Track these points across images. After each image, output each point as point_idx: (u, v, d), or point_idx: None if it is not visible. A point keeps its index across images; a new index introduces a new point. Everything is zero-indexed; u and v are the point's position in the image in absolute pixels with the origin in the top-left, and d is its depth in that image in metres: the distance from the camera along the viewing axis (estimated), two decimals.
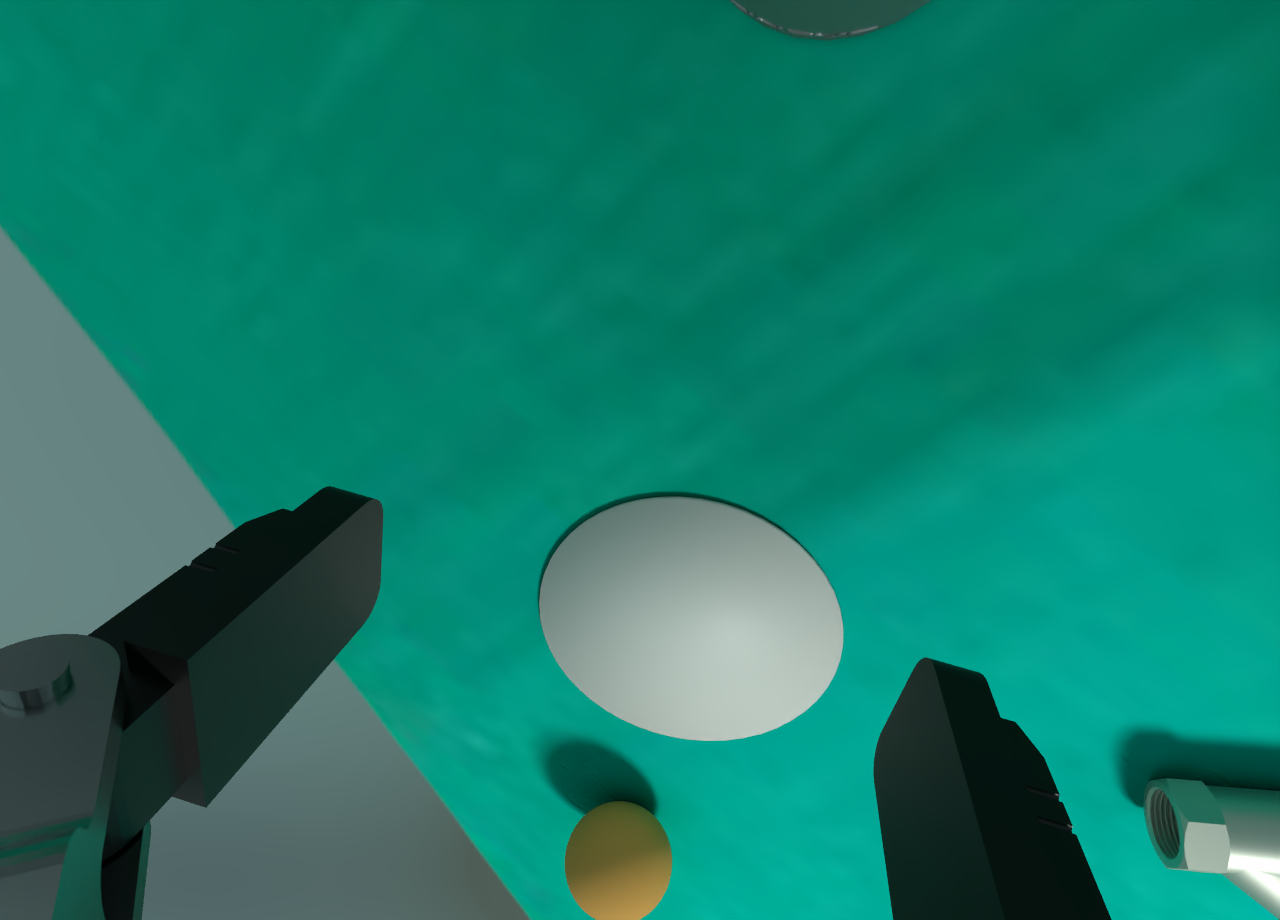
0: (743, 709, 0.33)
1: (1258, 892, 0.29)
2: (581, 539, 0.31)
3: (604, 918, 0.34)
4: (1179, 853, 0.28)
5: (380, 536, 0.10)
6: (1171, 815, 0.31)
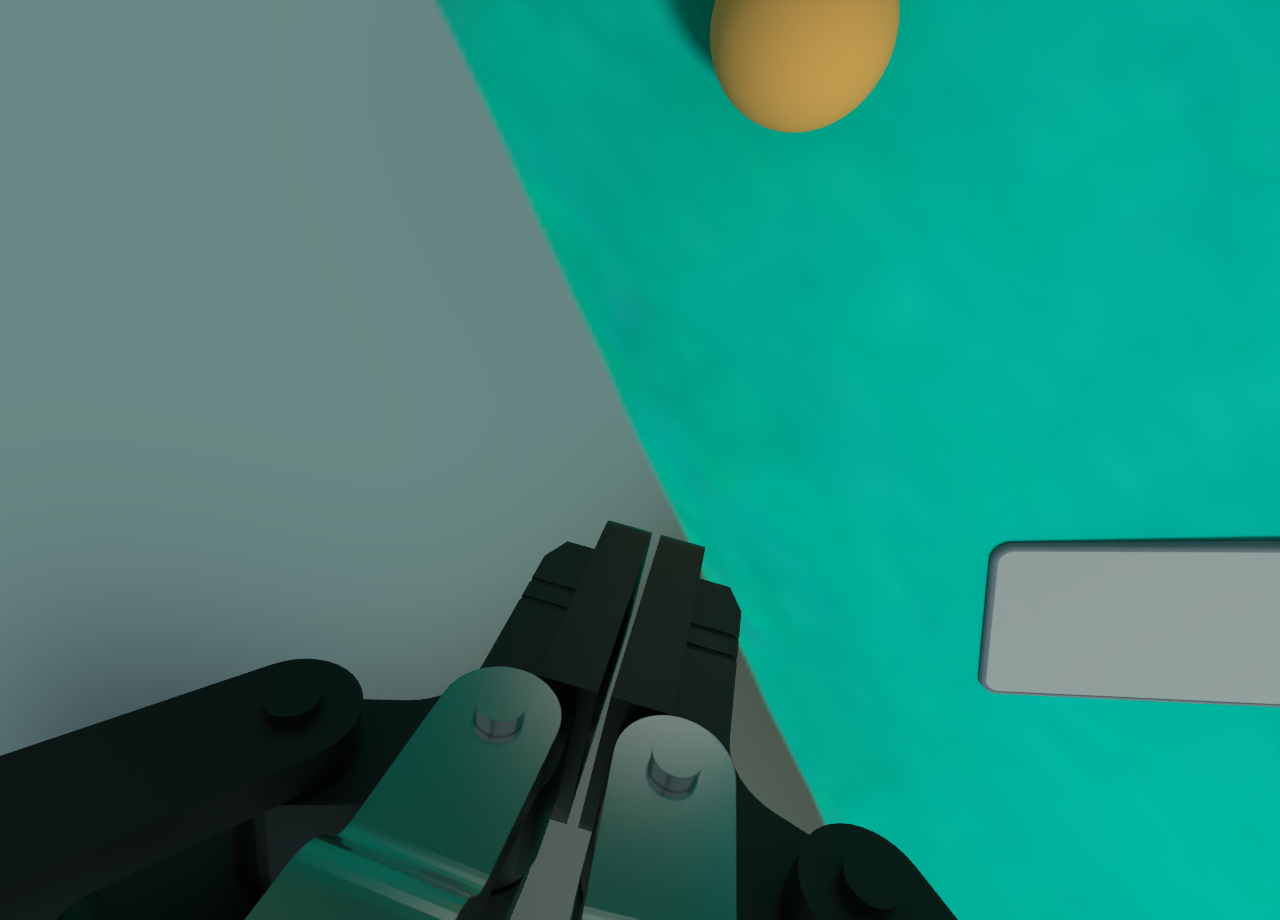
0: None
1: None
2: None
3: (799, 34, 0.19)
4: None
5: None
6: None
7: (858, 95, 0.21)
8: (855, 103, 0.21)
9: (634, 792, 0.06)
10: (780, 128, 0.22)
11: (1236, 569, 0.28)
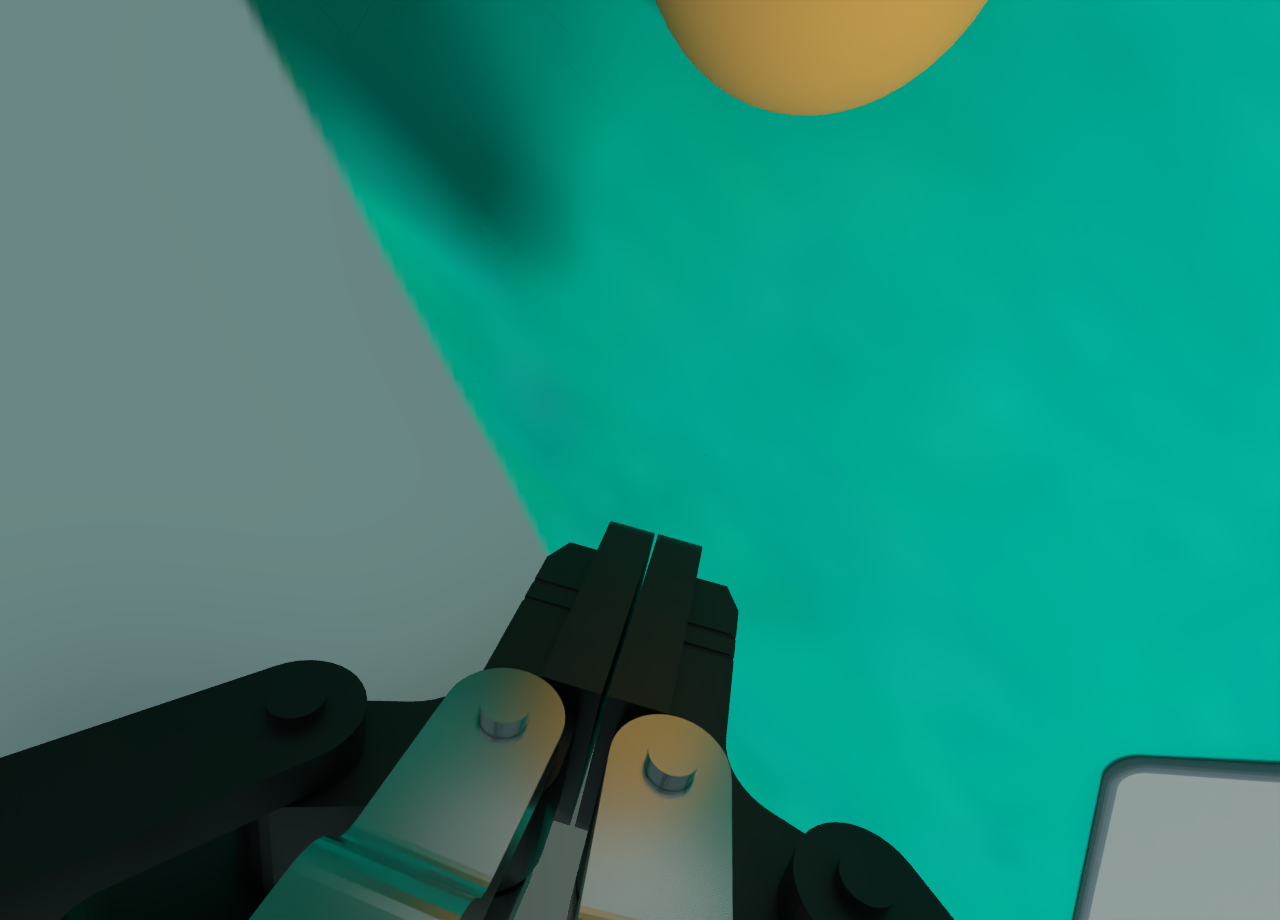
0: None
1: None
2: None
3: None
4: None
5: (646, 566, 0.11)
6: None
7: (944, 36, 0.10)
8: (935, 54, 0.10)
9: (630, 792, 0.06)
10: (781, 107, 0.11)
11: None
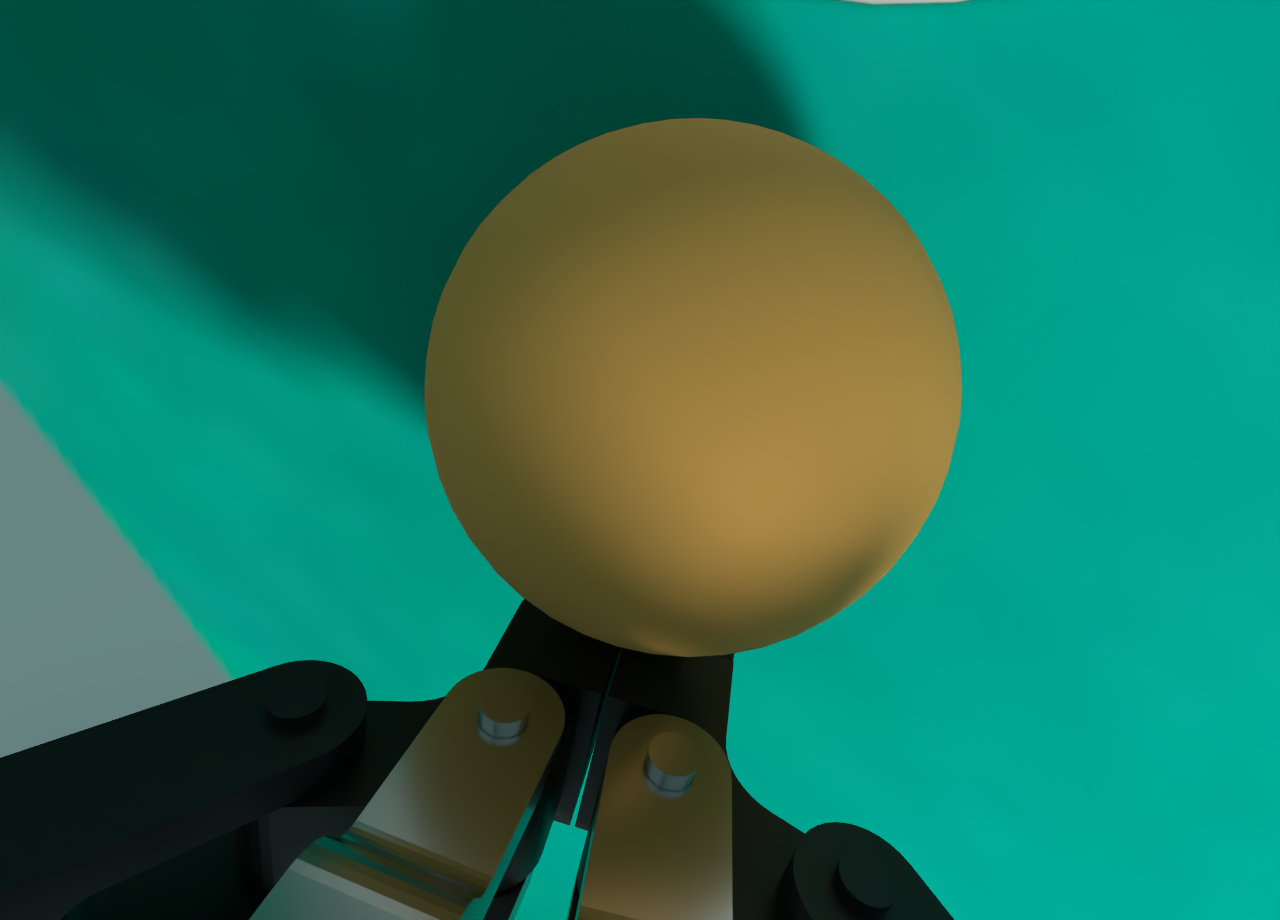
0: None
1: None
2: None
3: (695, 301, 0.05)
4: None
5: None
6: None
7: (889, 550, 0.06)
8: (873, 578, 0.06)
9: (630, 792, 0.06)
10: (631, 638, 0.06)
11: None
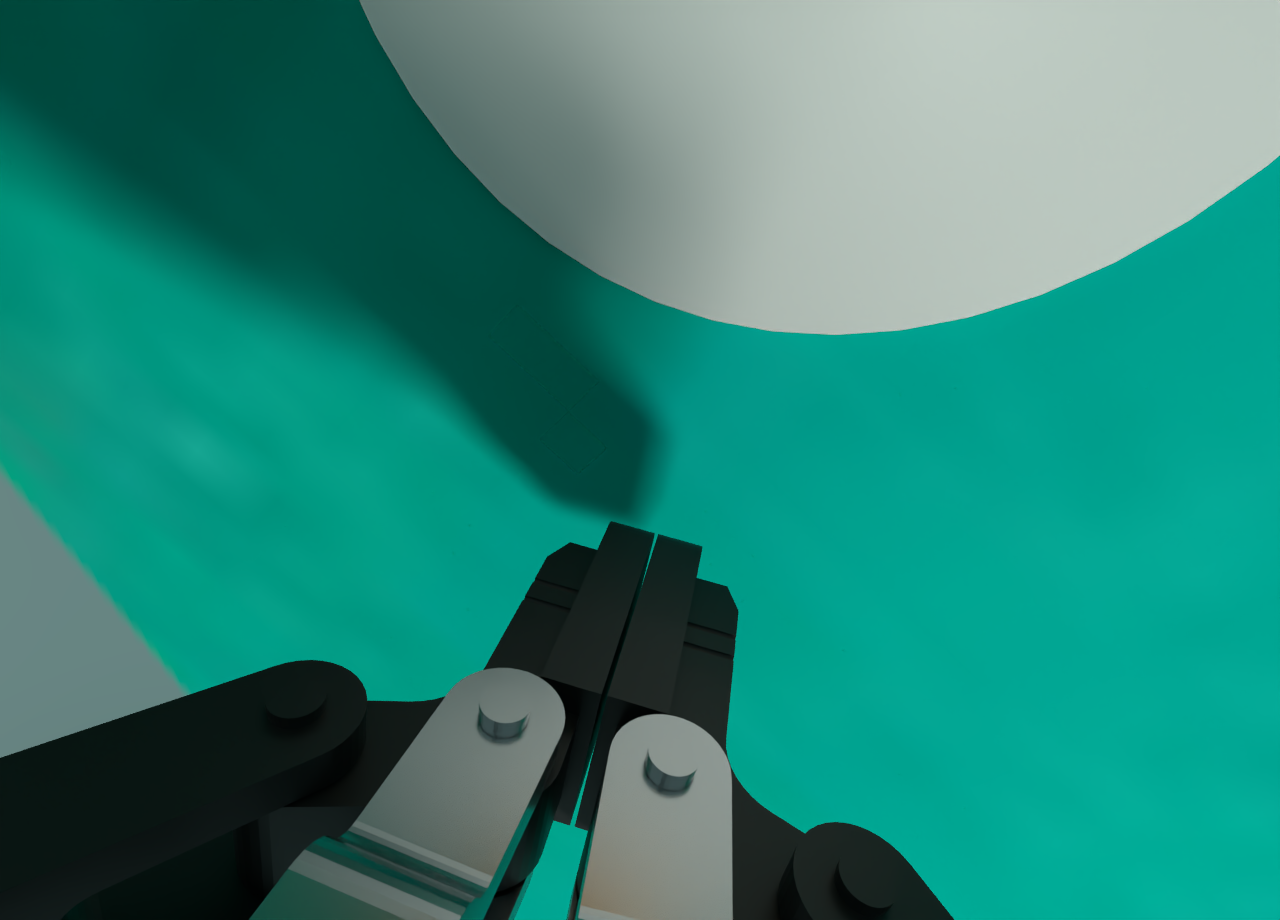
0: (1067, 141, 0.09)
1: None
2: None
3: None
4: None
5: (646, 566, 0.11)
6: None
7: None
8: None
9: (630, 791, 0.06)
10: None
11: None
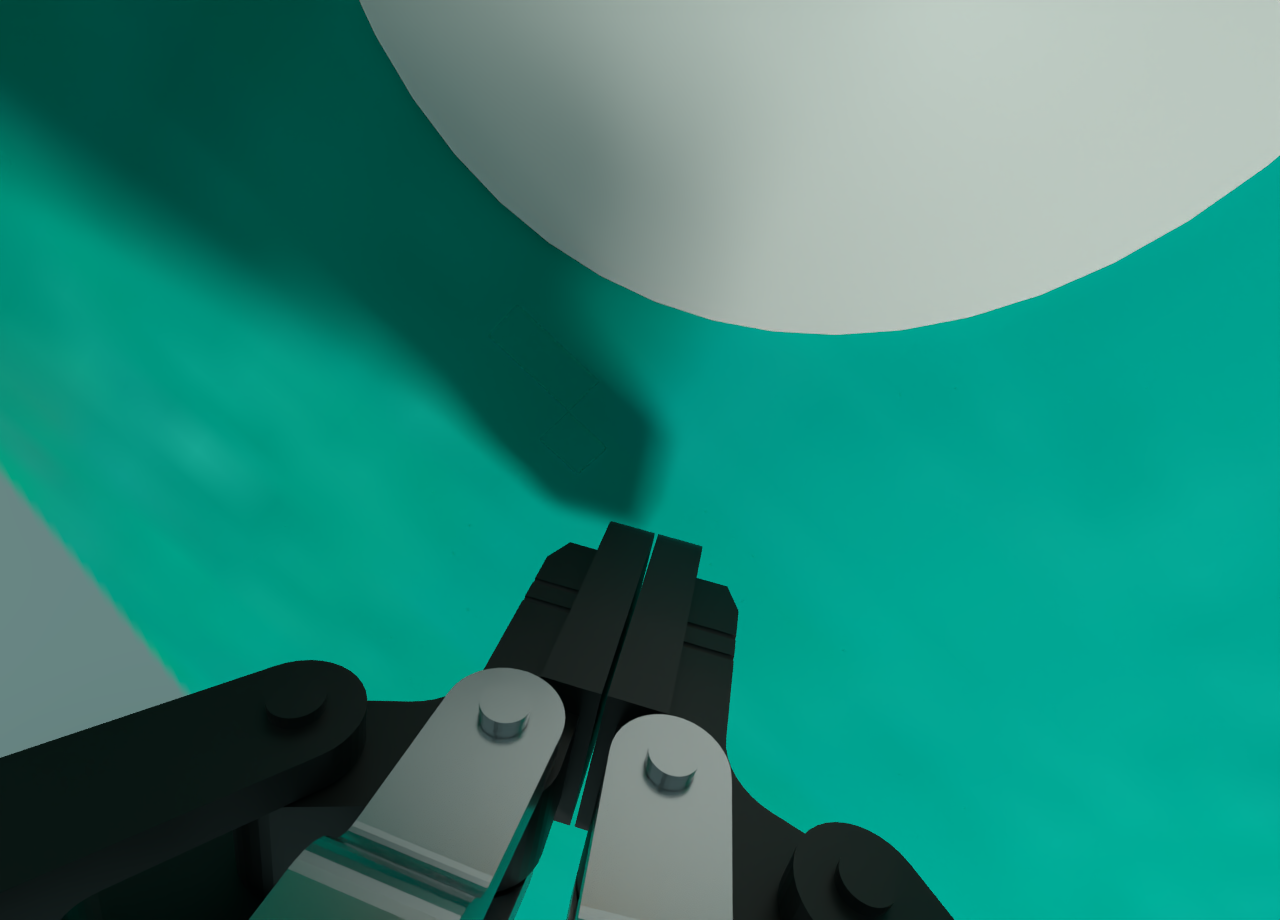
0: (1067, 141, 0.09)
1: None
2: None
3: None
4: None
5: (646, 566, 0.11)
6: None
7: None
8: None
9: (630, 791, 0.06)
10: None
11: None
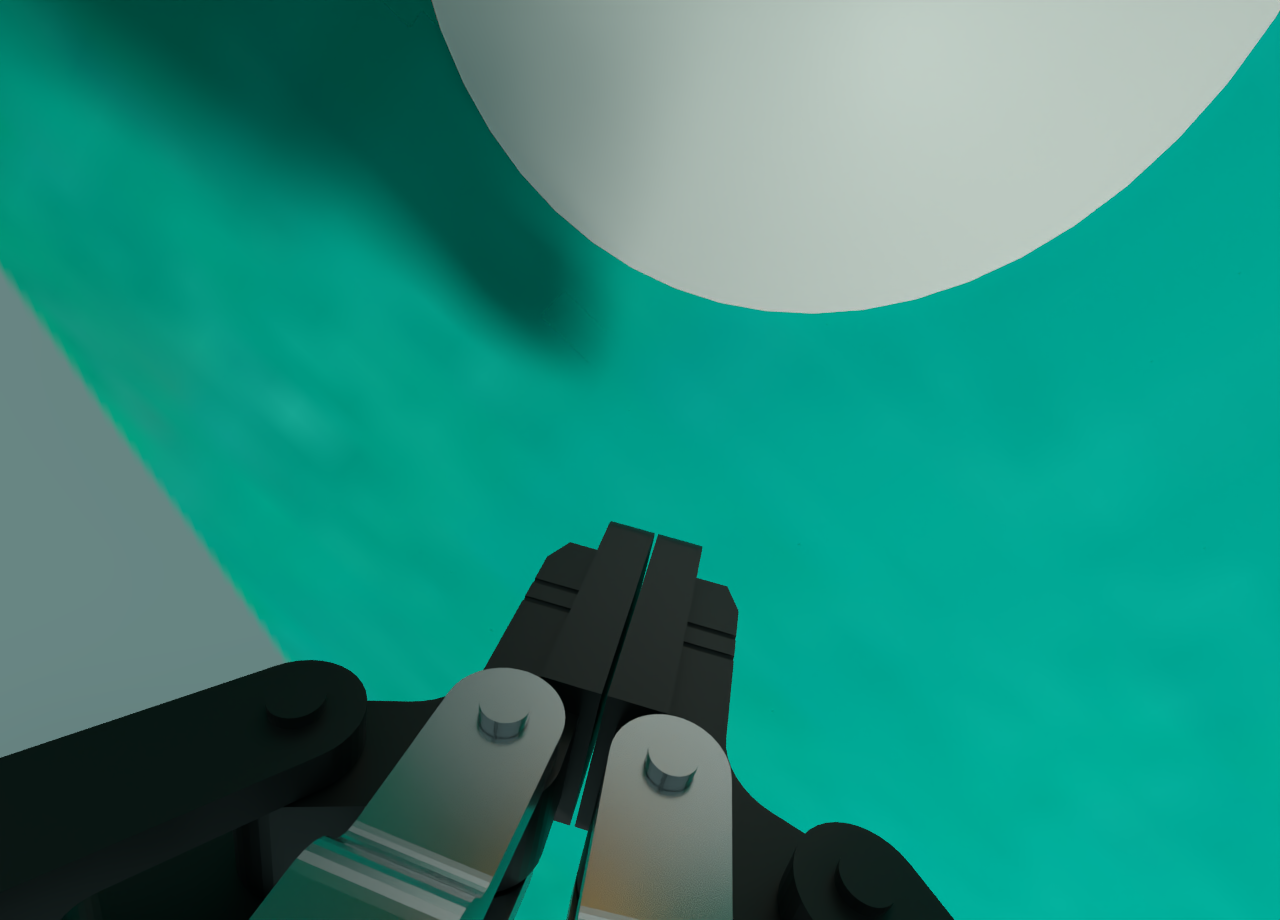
0: (983, 167, 0.12)
1: None
2: None
3: None
4: None
5: (646, 566, 0.11)
6: None
7: None
8: None
9: (630, 791, 0.06)
10: None
11: None
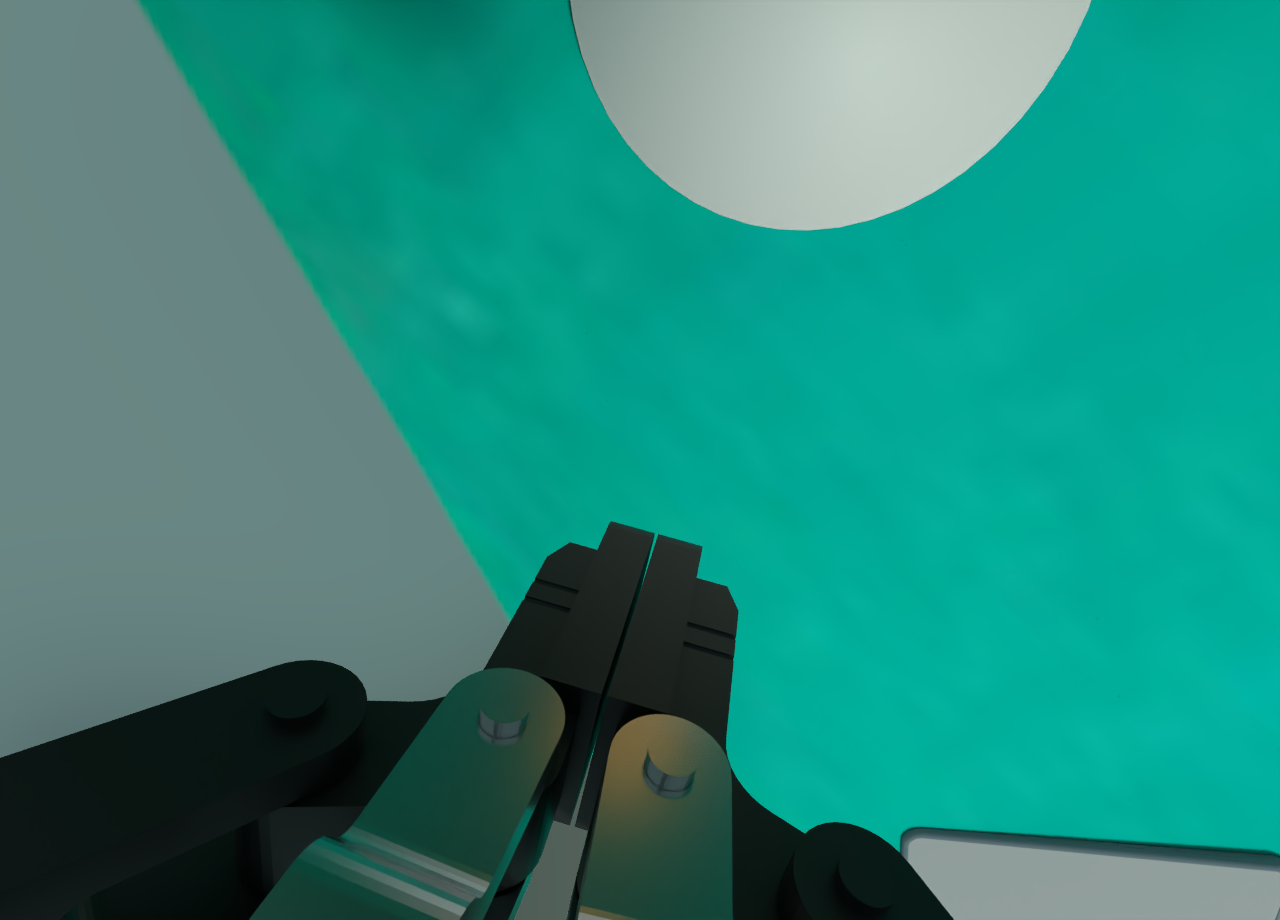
0: (909, 137, 0.20)
1: None
2: None
3: None
4: None
5: (646, 566, 0.11)
6: None
7: None
8: None
9: (629, 791, 0.06)
10: None
11: (1131, 870, 0.29)
